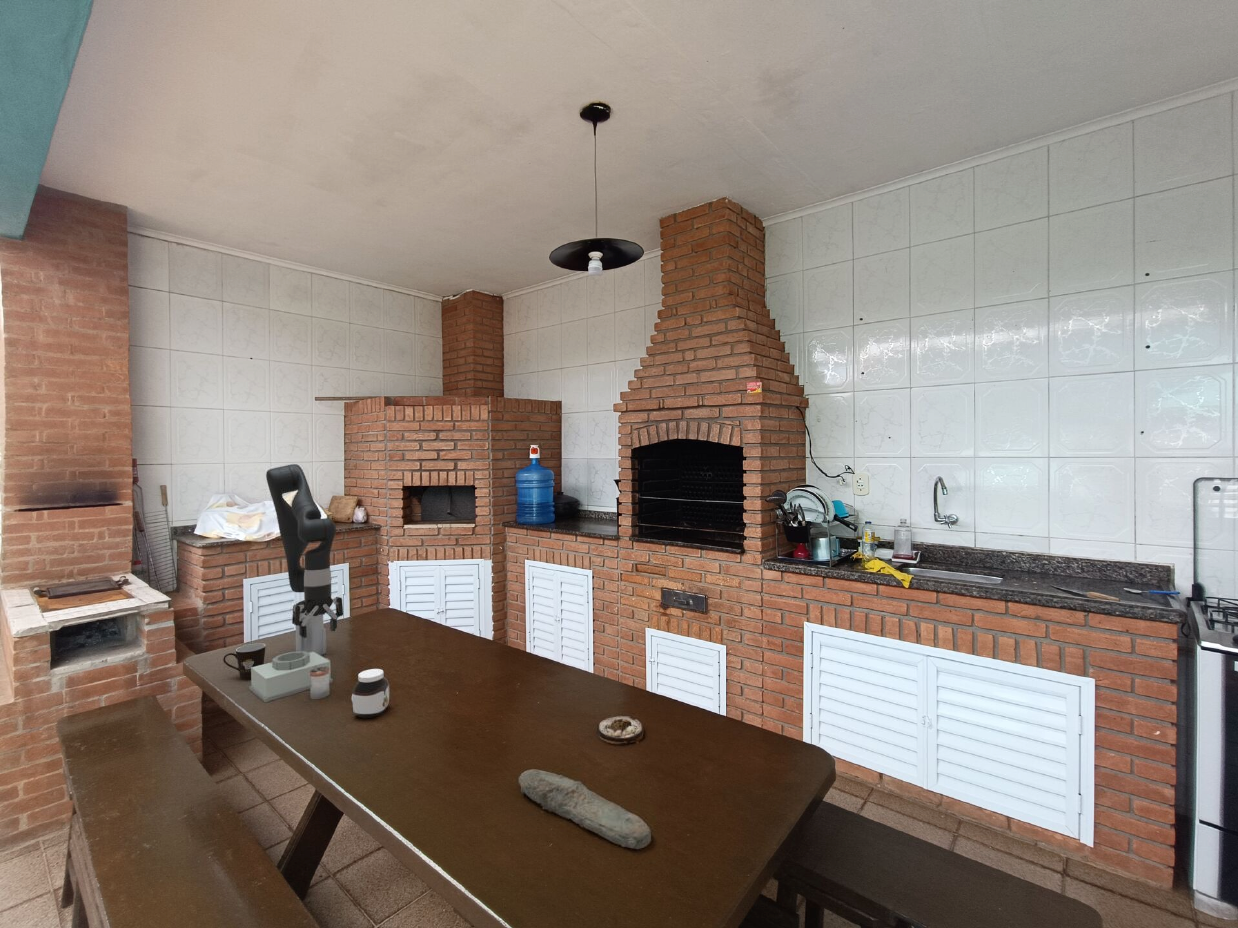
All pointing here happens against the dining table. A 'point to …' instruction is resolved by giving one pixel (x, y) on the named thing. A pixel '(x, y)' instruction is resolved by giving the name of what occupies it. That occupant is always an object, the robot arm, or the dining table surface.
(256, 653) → the coffee mug
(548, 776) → the long grey stone
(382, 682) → the spread jar
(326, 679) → the spout can
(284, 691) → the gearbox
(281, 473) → the robot arm
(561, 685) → the dining table surface
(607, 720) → the sushi roll
